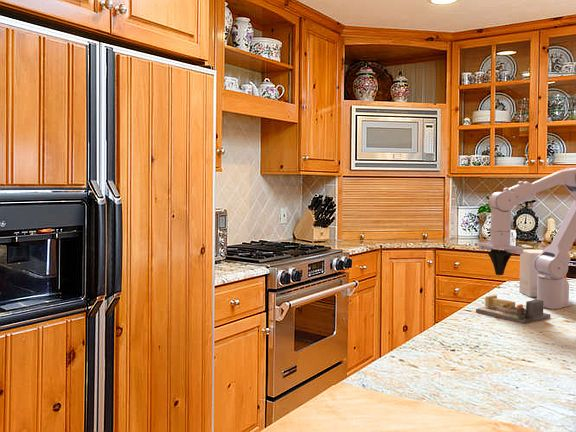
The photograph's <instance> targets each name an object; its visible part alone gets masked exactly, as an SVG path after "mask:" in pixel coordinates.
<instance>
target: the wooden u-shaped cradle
mask: <svg viewBox="0 0 576 432" xmlns="http://www.w3.org/2000/svg"><path fill="white" fill-rule="evenodd" d="M491 306H500V307H501V308H508V309H514V308H515V307H516V302H515V301H512V300H507V299H503V298H502V299H501V298H498V295H497V294H492V295H487V296H485V306H484V307H491Z"/></svg>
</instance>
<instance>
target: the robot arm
mask: <svg viewBox="0 0 576 432" xmlns="http://www.w3.org/2000/svg"><path fill="white" fill-rule="evenodd" d="M516 183H517V184H515V185H513V186H511V187H504V188H503V191H496V192H495V191H494V192H493V193H492V194H491V195H490V196H489V199H488V200H487V205H488V207H489V208H490V238H489V239H490V242H479V243H478V250H484V251H485V250H486V251H488V253H487V254H488V257H489V258H490V260H491V263H492V266H493V267H494V269H493V270H494V273H495V275H496V276H503V275H504V273H505V269H506V267H507V264H508V262H509V260H510V258H512V255H513V254H517V255H520V254H523V250H524V247H523V246H516V245H512V244H511V235H512V234H511V228H512V227H511V226H512V225H511V224H512V223H511V222H512V220H511V219H512V210H513V209H514V207H516V206H518V205H520V204H523V203H525V202H528V201H530V200H533V199H534V198H535V197H536V194H537V193H540V192H542V191H545V190H548V189H550V188H553V187H555V186H558V185H563V187H565V188H566V189H567V190H568V192H569V193H570V194H571V197H572V198H573V202H572V203H571V205H570V207H569V209H568V211H567V213H566V215H565V217H564V218H563V220H562V222H561V224H560V226H559V227H558V230H557V232H556V233H555V236H554V237H553V239H552V241H551V243H550V244H549V245H548V246H546V247H545V248H544V249H542V250H543V252H542V253H541V254H540V255H539V256H537V257H536V259H535V261H534V268H535V269H536V271H537V272H538V281H537V297H536V300H542V301H544V304H543V308H547V309H552V310H556V309H561V308H566V307H570V306H572V303H570V299H569V297H570V284H569V281H568V279H567V278H565V276H566V275H567V273H568V271H569V264H570V262H571V259H572V258H571V256H570V250H571V248H572V246H573V244H574V242H575V240H576V167H573V166H572V167H571V166H570V167H566V168H565V169H560V170H558V171H555V172H553V173H551V174H549V175H546V176H544V177H542V178H540V179H537V180H535V181H533V182H530V181H526V180H525V181H523V180H521V181H520V180H519V181H518V182H516Z"/></svg>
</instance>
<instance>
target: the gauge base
mask: <svg viewBox="0 0 576 432" xmlns="http://www.w3.org/2000/svg"><path fill="white" fill-rule="evenodd" d="M525 303H526V304H525V308H524V315H523V316H519V315H517V306H515V308H514V309H508V308H501V307H500V306H491V307H486V306H484V307H479V308H478V307H477V308H476V309H475V313H478V314H482V315H485V316H490V317H495V318H499V319H502V320H507V321H511V322H515V323H519V324H523V325H526V324H531V323H535V322H539V321H543V320H547V319H551V314H550V313H546V312H544V307H543V304H544V301H542V300H537V299H532V300H528V301H526V302H525Z"/></svg>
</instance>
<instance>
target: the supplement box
mask: <svg viewBox="0 0 576 432" xmlns="http://www.w3.org/2000/svg"><path fill="white" fill-rule="evenodd" d="M543 250H544V249H523V254H519V291H518V292H519V293H521V294H523V295H525V296H527V297H528V298H537V281H538V272H537V271H536V269H535V268H534V261H535V259H536V257H537V256H539V255H540V254H541V253H542V252H543Z"/></svg>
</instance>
